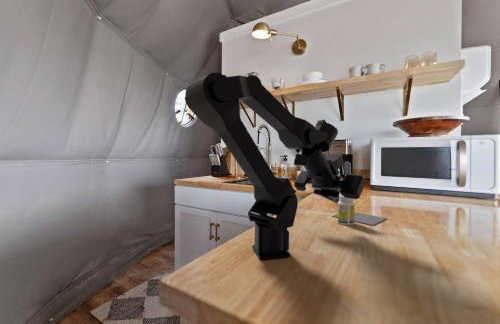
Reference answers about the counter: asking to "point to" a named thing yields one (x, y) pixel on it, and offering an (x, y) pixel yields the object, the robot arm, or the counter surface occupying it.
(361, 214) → the mat
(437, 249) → the counter surface
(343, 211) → the supplement bottle
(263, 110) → the robot arm
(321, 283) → the counter surface
